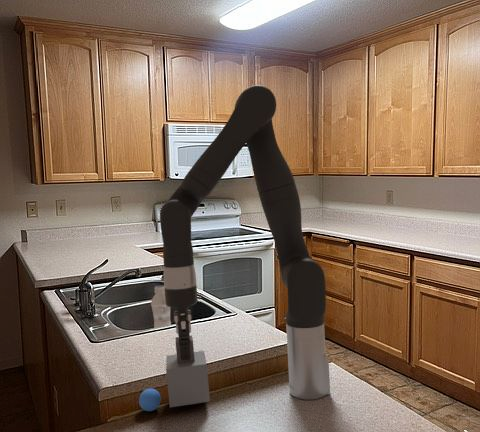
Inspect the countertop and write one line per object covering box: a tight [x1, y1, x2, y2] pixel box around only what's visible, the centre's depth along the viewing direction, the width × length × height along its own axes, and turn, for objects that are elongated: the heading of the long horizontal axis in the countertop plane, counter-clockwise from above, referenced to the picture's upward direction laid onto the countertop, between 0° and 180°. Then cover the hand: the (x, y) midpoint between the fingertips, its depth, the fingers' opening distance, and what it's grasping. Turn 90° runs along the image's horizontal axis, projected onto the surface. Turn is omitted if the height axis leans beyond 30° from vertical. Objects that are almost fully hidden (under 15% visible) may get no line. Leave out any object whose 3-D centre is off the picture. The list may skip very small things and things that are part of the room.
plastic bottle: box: [150, 285, 172, 329], centre depth 156 cm, size 6×7×20 cm
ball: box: [138, 388, 162, 412], centre depth 109 cm, size 5×5×5 cm
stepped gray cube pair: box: [165, 334, 211, 408], centre depth 110 cm, size 9×9×14 cm
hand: (185, 355), depth 110 cm, fingers closed on stepped gray cube pair, 4 cm apart
